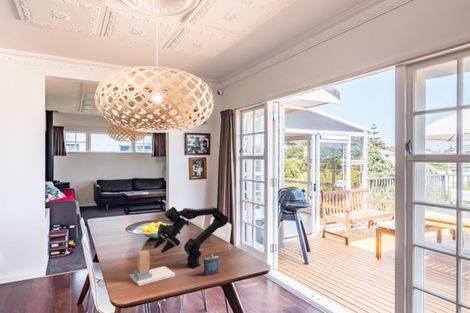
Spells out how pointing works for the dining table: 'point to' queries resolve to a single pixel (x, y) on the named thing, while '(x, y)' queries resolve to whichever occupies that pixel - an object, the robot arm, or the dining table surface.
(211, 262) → the flask
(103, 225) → the dining table surface
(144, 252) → the tall peach block
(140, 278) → the dock
